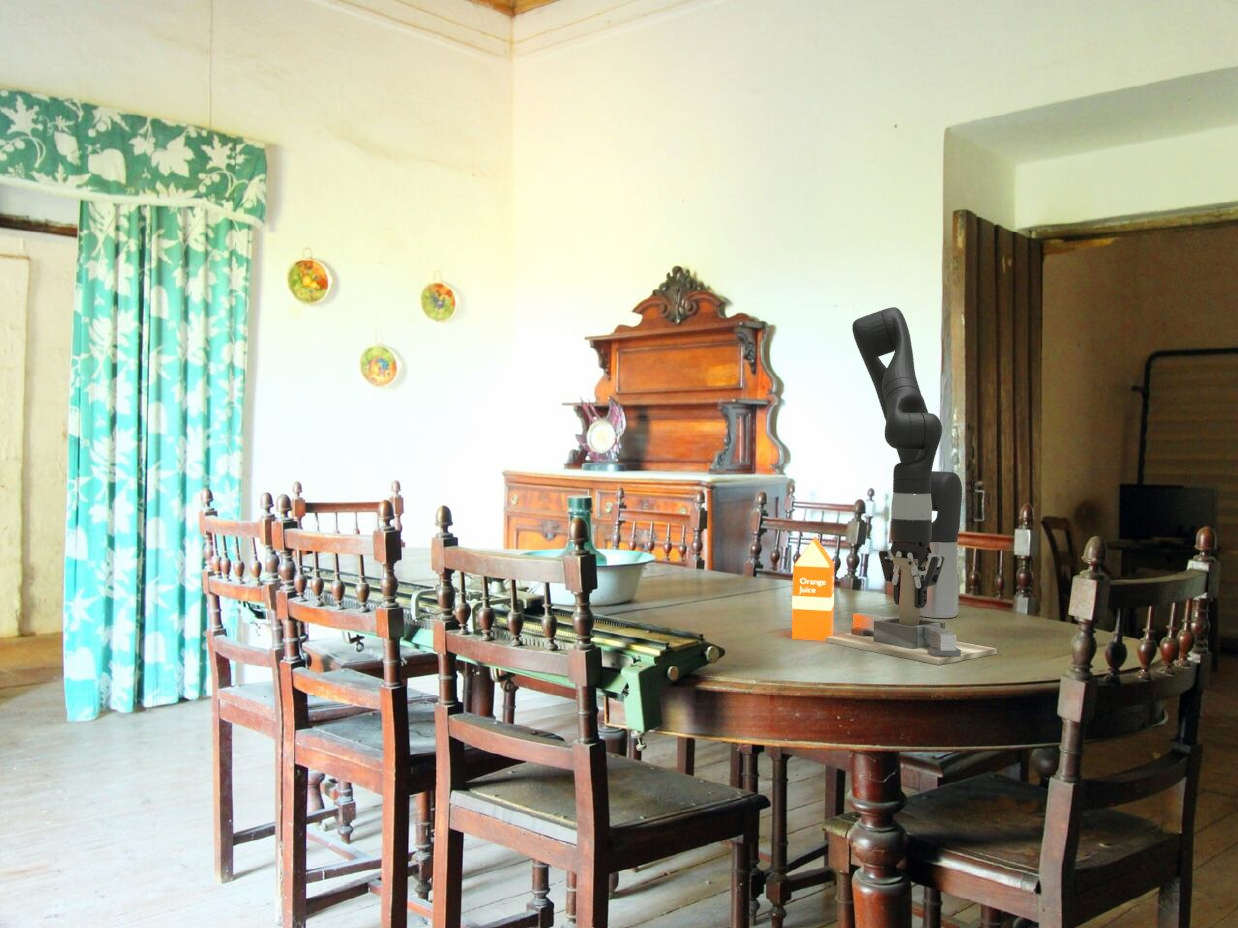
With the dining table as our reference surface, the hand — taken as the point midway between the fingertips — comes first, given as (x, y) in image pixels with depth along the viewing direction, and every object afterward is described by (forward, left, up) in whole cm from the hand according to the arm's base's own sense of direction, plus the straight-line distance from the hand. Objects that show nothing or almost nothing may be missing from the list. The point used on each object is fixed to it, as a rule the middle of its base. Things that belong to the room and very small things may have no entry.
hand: (909, 605), depth 198 cm
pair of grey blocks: (+3, +1, -7) cm, 8 cm away
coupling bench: (0, 0, -8) cm, 8 cm away
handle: (0, 0, -6) cm, 6 cm away
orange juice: (+6, -19, -8) cm, 22 cm away
